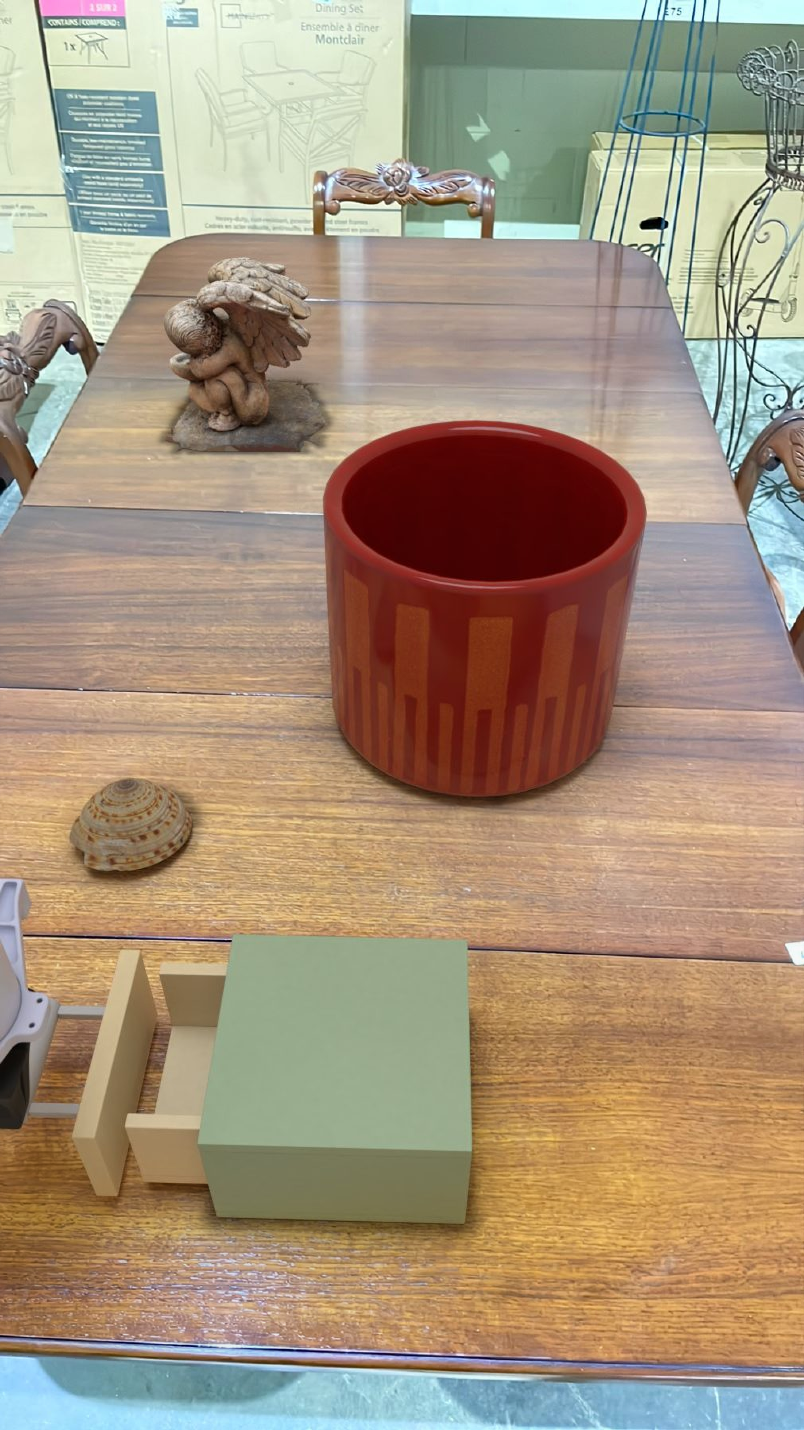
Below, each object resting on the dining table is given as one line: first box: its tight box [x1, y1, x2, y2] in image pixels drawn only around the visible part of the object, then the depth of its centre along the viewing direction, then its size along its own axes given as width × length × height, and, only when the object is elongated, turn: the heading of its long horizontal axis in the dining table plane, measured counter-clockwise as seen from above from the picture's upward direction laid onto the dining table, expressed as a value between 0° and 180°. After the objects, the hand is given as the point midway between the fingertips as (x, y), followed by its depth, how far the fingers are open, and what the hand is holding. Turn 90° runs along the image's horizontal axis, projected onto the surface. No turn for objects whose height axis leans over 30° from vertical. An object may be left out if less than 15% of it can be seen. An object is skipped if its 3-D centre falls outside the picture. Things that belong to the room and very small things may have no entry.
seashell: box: [68, 777, 193, 872], centre depth 78 cm, size 8×6×8 cm
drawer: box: [23, 949, 228, 1197], centre depth 61 cm, size 18×11×7 cm, turn 89°
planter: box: [322, 419, 648, 798], centre depth 83 cm, size 23×23×20 cm
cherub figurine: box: [163, 257, 326, 452], centre depth 122 cm, size 18×18×18 cm
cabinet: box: [197, 933, 473, 1225], centre depth 61 cm, size 14×13×9 cm
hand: (4, 1115), depth 52 cm, fingers closed
